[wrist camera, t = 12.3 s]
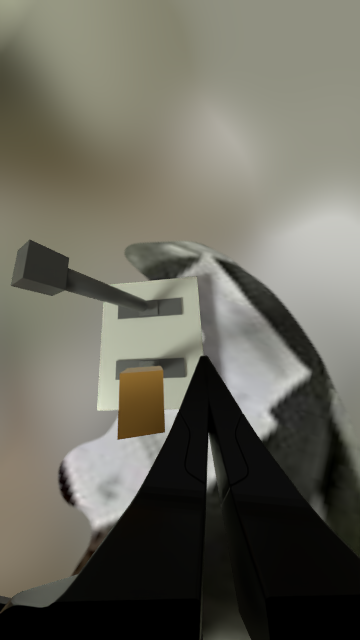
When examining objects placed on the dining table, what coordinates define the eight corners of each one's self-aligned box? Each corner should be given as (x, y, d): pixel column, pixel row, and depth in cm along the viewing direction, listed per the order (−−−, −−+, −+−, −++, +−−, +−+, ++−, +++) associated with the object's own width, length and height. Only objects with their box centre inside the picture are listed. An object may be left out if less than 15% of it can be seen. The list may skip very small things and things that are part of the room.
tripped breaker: (156, 380, 16) (164, 432, 6) (140, 381, 16) (117, 439, 6) (156, 358, 17) (163, 370, 6) (140, 359, 17) (119, 373, 6)
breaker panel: (206, 400, 18) (238, 548, 5) (109, 402, 20) (-89, 527, 6) (196, 284, 22) (199, 174, 8) (114, 292, 23) (-7, 207, 9)
